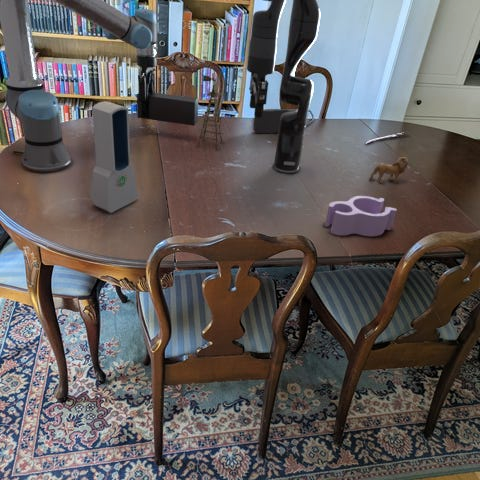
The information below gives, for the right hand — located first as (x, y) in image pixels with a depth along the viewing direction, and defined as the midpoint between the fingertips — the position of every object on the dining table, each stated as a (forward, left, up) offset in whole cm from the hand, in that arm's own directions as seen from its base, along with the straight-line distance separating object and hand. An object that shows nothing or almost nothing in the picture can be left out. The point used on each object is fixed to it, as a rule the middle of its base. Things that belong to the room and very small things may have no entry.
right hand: (255, 112), depth 136 cm
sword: (-95, +10, -29) cm, 100 cm away
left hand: (-17, -63, -21) cm, 68 cm away
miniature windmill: (-27, -38, -29) cm, 55 cm away
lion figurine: (-51, +28, -29) cm, 65 cm away
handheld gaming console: (-62, -28, -29) cm, 74 cm away
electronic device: (+32, -26, -29) cm, 50 cm away
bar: (-21, -56, -22) cm, 63 cm away
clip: (-11, +34, -29) cm, 46 cm away
